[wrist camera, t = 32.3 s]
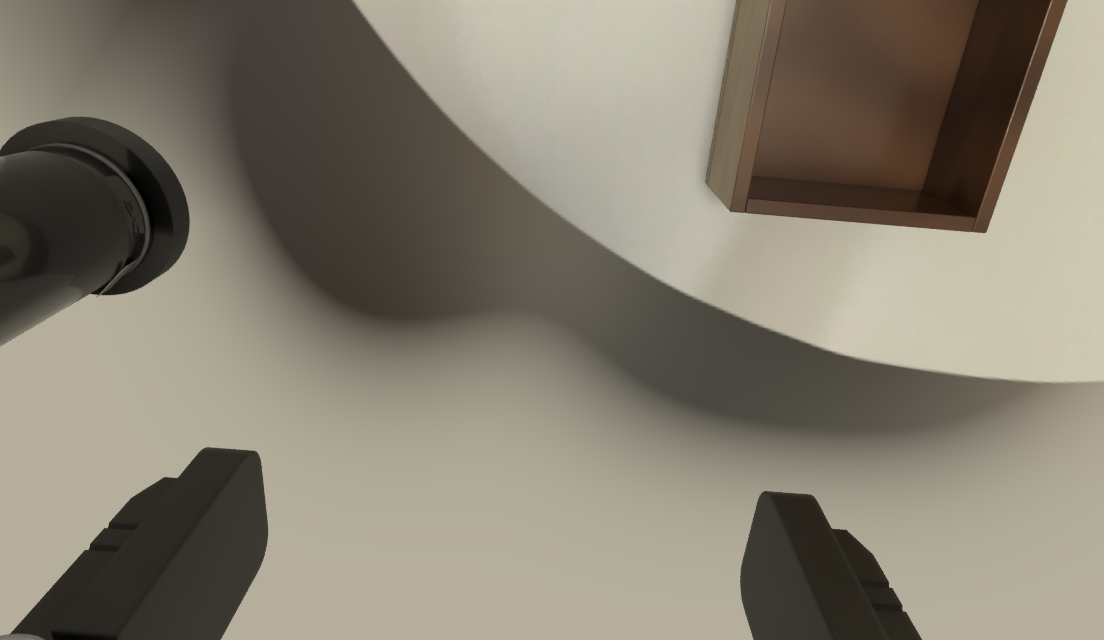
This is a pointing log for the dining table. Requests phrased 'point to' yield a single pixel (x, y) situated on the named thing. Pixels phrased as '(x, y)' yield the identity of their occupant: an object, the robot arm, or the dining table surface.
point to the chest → (877, 107)
